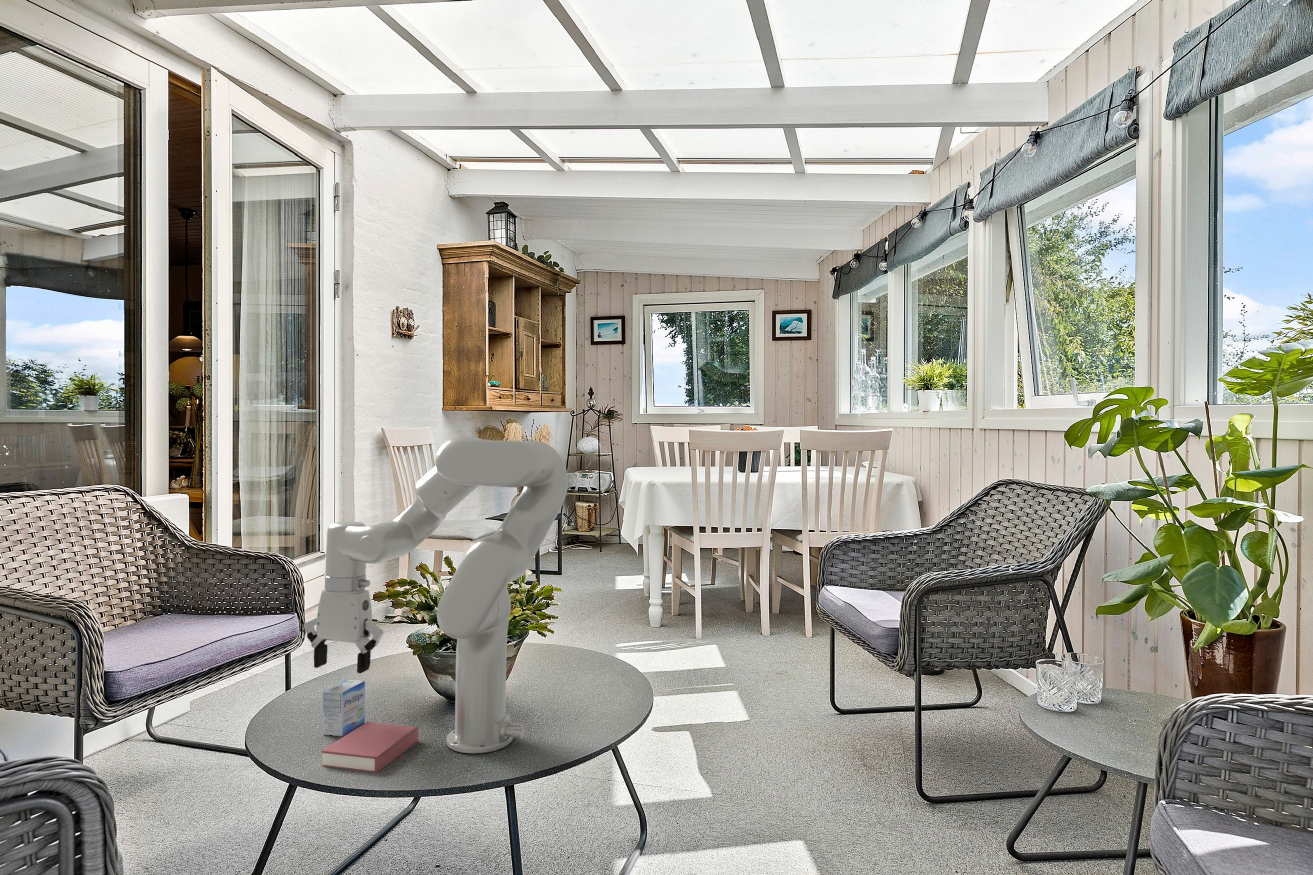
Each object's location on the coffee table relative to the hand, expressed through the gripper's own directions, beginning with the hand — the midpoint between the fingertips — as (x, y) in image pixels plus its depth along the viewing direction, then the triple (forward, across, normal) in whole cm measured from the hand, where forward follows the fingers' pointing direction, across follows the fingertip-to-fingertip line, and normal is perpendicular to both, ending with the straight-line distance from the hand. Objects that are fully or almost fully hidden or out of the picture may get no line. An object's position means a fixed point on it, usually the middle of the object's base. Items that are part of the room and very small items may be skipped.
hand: (341, 668), depth 151 cm
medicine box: (+12, -1, 0) cm, 12 cm away
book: (+12, -13, +9) cm, 20 cm away
